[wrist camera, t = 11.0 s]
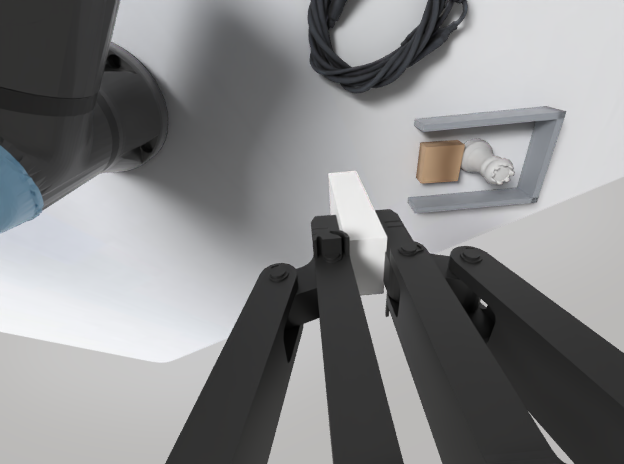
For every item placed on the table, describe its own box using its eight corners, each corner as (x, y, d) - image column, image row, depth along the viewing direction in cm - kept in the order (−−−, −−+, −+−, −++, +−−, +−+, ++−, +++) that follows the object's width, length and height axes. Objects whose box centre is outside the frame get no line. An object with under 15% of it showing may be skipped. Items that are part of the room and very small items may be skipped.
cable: (336, 110, 39) (339, 117, 35) (271, -7, 33) (267, -13, 29) (467, 25, 35) (486, 23, 31) (422, -129, 28) (440, -156, 25)
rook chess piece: (461, 135, 41) (493, 153, 34) (493, 139, 41) (530, 158, 34) (449, 167, 43) (477, 190, 36) (479, 171, 44) (512, 194, 37)
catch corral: (407, 202, 46) (415, 213, 43) (414, 119, 40) (423, 125, 37) (521, 192, 45) (536, 202, 42) (546, 106, 39) (566, 111, 36)
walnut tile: (415, 176, 44) (421, 183, 42) (419, 142, 41) (426, 147, 39) (450, 174, 44) (457, 181, 42) (456, 139, 41) (465, 144, 39)
